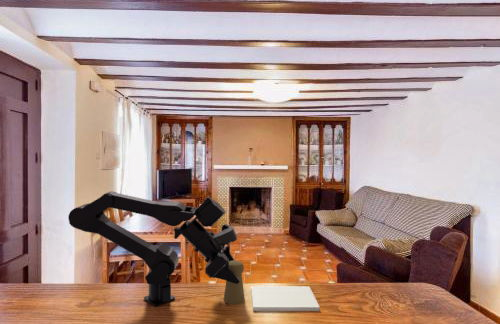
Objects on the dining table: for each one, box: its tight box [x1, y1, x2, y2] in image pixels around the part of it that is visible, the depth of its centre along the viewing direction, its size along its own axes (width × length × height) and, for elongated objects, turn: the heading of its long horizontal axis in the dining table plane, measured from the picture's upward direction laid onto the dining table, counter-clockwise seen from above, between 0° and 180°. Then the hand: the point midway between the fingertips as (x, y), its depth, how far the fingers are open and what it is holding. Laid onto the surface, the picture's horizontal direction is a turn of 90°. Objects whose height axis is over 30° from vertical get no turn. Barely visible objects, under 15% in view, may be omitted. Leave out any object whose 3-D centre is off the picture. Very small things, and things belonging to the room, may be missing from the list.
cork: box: [223, 259, 246, 306], centre depth 95 cm, size 6×6×11 cm
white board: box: [250, 285, 321, 312], centre depth 96 cm, size 18×13×1 cm
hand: (238, 275), depth 95 cm, fingers open, 9 cm apart
